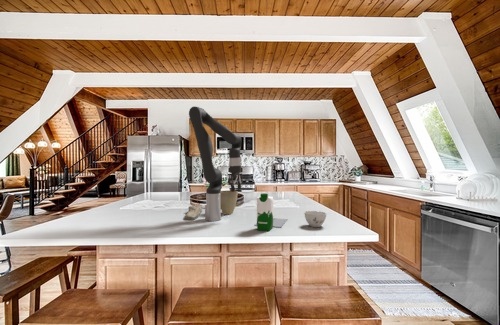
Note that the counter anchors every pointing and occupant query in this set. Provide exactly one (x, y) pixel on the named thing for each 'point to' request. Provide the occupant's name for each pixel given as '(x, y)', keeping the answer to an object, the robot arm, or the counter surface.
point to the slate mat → (277, 222)
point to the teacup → (315, 218)
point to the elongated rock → (193, 213)
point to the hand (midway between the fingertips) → (236, 190)
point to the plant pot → (228, 201)
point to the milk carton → (264, 212)
